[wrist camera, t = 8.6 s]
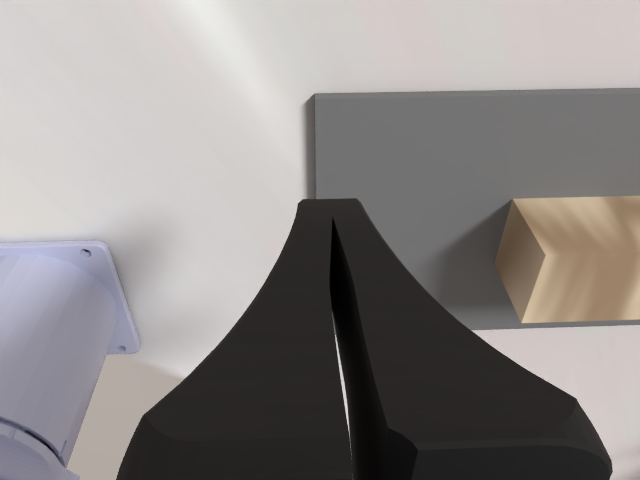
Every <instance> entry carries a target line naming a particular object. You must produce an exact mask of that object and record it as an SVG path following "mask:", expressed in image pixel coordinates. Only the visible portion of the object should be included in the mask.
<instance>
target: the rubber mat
mask: <svg viewBox="0 0 640 480" xmlns="http://www.w3.org/2000/svg"><path fill="white" fill-rule="evenodd" d="M607 196H640V88H613V89H555V90H498V91H440V92H383V93H325V94H315V198H316V199H345V198H357V199H358V200H359V201H360V202H361V203H362V205H363V207H364V209H365V211H366V213H367V214H368V216H369V218H370V219H371V221H372V222H373V224H374V226H375V227H376V229H377V230H378V232H379V233H380V235H381V236H382V237H383V239H384V240H385V242H386V243H387V244H388V246H389V247H390V248H391V249H392V251H393V252H394V253H395V255H396V256H397V257H398V259H399V260H400V261H401V262H402V264H403V265H404V266H405V267H406V268H407V270H408V271H409V272H410V273H411V274H412V275H413V276H414V278H415V279H416V280H417V281H418V282H419V283H420V284H421V285H422V286H423V287H424V288H425V290H426V291H427V292H428V293H429V294H430V295H431V296H432V297H433V298H434V299H435V300H437V301H438V302H439V303H440V304H441V305H442V306H443V307H444V308H445V309H446V310H447V311H448V312H449V313H450V314H452V315H453V316H454V317H455V318H456V319H457V320H458V321H460V322H461V323H462V324H463V325H465V326H466V327H467V328H469V329H470V330H492V329H523V328H554V327H585V326H617V325H640V319H638V320H607V321H575V322H544V323H521V321H520V319H519V317H518V315H517V313H516V311H515V308H514V306H513V304H512V302H511V300H510V297H509V295H508V293H507V291H506V289H505V287H504V284H503V282H502V280H501V278H500V276H499V273H498V271H497V269H496V267H495V265H494V263H495V259H496V256H497V252H498V249H499V245H500V242H501V238H502V235H503V231H504V227H505V224H506V220H507V217H508V213H509V210H510V206H511V202H512V199H524V198H565V197H607ZM332 316H333V314H332ZM333 324H334V319H333ZM334 333H335V334H336V331H335V325H334Z"/></svg>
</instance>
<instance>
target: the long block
mask: <svg viewBox="0 0 640 480" xmlns="http://www.w3.org/2000/svg"><path fill="white" fill-rule="evenodd" d="M494 265H495V267H496V269H497V271H498V273H499V276H500V278H501V280H502V282H503V284H504V287H505V289H506V291H507V293H508V295H509V297H510V300H511V302H512V304H513V306H514V308H515V311H516V313H517V315H518V317H519V319H520V321H521V323H544V322H575V321H607V320H638V319H640V196H607V197H565V198H524V199H512V202H511V206H510V210H509V213H508V217H507V220H506V224H505V227H504V231H503V235H502V238H501V242H500V245H499V249H498V252H497V256H496V259H495V263H494Z"/></svg>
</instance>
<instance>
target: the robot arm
mask: <svg viewBox="0 0 640 480" xmlns="http://www.w3.org/2000/svg"><path fill="white" fill-rule="evenodd" d="M83 249H86V250H88V251H90V252H86V251H84V250H83ZM332 314H333V316H332ZM333 319H334V324H333ZM334 325H335V331H336V337H337V342H338V348H339V354H340V359H341V365H342V371H343V377H344V382H345V389H346V396H347V404H348V416H349V430H350V438H349V431H348V425H347V419H346V413H345V406H344V399H343V393H342V386H341V379H340V372H339V364H338V357H337V349H336V341H335V333H334ZM139 349H140V340H139V337H138V334H137V331H136V328H135V325H134V322H133V319H132V316H131V313H130V310H129V307H128V304H127V301H126V298H125V295H124V292H123V289H122V286H121V283H120V280H119V278H118V275H117V272H116V269H115V266H114V263H113V260H112V257H111V254H110V251H109V248H108V246H107V245H106V244H105V243H103V242H101V241H96V240H91V241H53V242H14V243H0V480H79V479H80V477H79V476H78V475H77V474H74V473H73V472H71V471H69V470H67V469H66V468H67V465H68V462H69V459H70V456H71V454H72V451H73V448H74V445H75V442H76V439H77V437H78V433H79V430H80V428H81V425H82V422H83V419H84V416H85V414H86V411H87V408H88V405H89V402H90V399H91V397H92V394H93V391H94V388H95V385H96V382H97V380H98V377H99V374H100V371H101V368H102V365H103V363H104V360H105V357H106V354H132V353H136V352H138V351H139ZM350 443H351V449H350ZM351 457H352V460H351ZM612 472H613V471H612V462H611V459H610V457H609V455H608V453H607V451H606V449H605V447H604V445H603V443H602V441H601V439H600V437H599V435H598V433H597V432H596V430H595V428H594V426H593V425H592V423H591V421H590V420H589V418H588V417H587V415H586V414H585V412H584V411H583V409H582V408H581V406H580V405H579V403H578V401H577V399H576V398H574V397H573V396H571V395H569V394H568V393H566V392H564V391H562V390H561V389H559V388H557V387H555V386H554V385H552V384H550V383H549V382H547V381H545V380H543V379H542V378H540V377H538V376H536V375H535V374H533V373H531V372H530V371H528V370H526V369H525V368H523V367H521V366H520V365H518V364H517V363H515V362H514V361H512V360H511V359H509V358H508V357H507V356H505V355H504V354H502V353H501V352H499V351H498V350H496V349H495V348H493V347H492V346H491V345H489V344H488V343H486V342H485V341H484V340H483V339H481V338H480V337H479V336H477V335H476V334H475V333H474V332H472V331H471V330H470V329H469V328H467V327H466V326H465V325H463V324H462V323H461V322H460V321H458V320H457V319H456V318H455V317H454V316H453V315H452V314H450V313H449V312H448V311H447V310H446V309H445V308H444V307H443V306H442V305H441V304H440V303H439V302H438V301H437V300H435V299H434V298H433V297H432V296H431V295H430V294H429V293H428V292H427V291H426V290H425V288H424V287H423V286H422V285H421V284H420V283H419V282H418V281H417V280H416V279H415V278H414V276H413V275H412V274H411V273H410V272H409V271H408V270H407V268H406V267H405V266H404V265H403V264H402V262H401V261H400V260H399V259H398V257H397V256H396V255H395V253H394V252H393V251H392V249H391V248H390V247H389V246H388V244H387V243H386V242H385V240H384V239H383V237H382V236H381V235H380V233H379V232H378V230H377V229H376V227H375V226H374V224H373V222H372V221H371V219H370V218H369V216H368V214H367V213H366V211H365V209H364V207H363V205H362V203H361V202H360V201H359V200H358V199H357V198H345V199H303V200H302V201H301V202H299V203H298V207H297V213H296V217H295V220H294V223H293V226H292V228H291V231H290V234H289V236H288V238H287V241H286V243H285V245H284V247H283V249H282V252H281V254H280V256H279V258H278V260H277V262H276V263H275V265H274V267H273V269H272V271H271V272H270V274H269V276H268V278H267V279H266V281H265V283H264V285H263V286H262V288H261V289H260V291H259V292H258V294H257V295H256V297H255V298H254V300H253V301H252V303H251V304H250V306H249V307H248V308H247V310H246V311H245V313H244V314H243V315H242V316H241V318H240V319H239V320H238V322H237V323H236V324H235V325H234V327H233V328H232V329H231V330H230V332H229V333H228V334H227V335H226V336H225V338H224V339H223V340H222V341H221V342H220V343H219V344H218V346H217V347H216V348H215V349H214V350H213V351H212V352H211V353H210V354H209V355H208V356H207V357H206V358H205V359H204V360H203V361H202V362H201V363H200V364H199V365H198V366H197V367H196V368H195V369H194V370H193V371H192V373H191V374H190V375H188V376H187V377H186V378H185V379H184V380H183V381H182V382H181V383H180V384H179V385H178V386H176V387H175V388H174V389H173V390H172V391H171V392H170V393H169V394H167V395H166V396H165V397H164V398H163V399H162V400H160V401H159V402H158V403H157V404H156V405H155V406H154V407H152V408H151V409H150V410H149V411H148V412H146V413H145V414H144V415H143V417H142V418H141V420H140V422H139V425H138V426H137V428H136V430H135V432H134V435H133V437H132V439H131V441H130V444H129V446H128V448H127V451H126V453H125V456H124V458H123V461H122V463H121V466H120V468H119V472H118V475H117V479H116V480H609V479H610V476H611V474H612Z"/></svg>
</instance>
